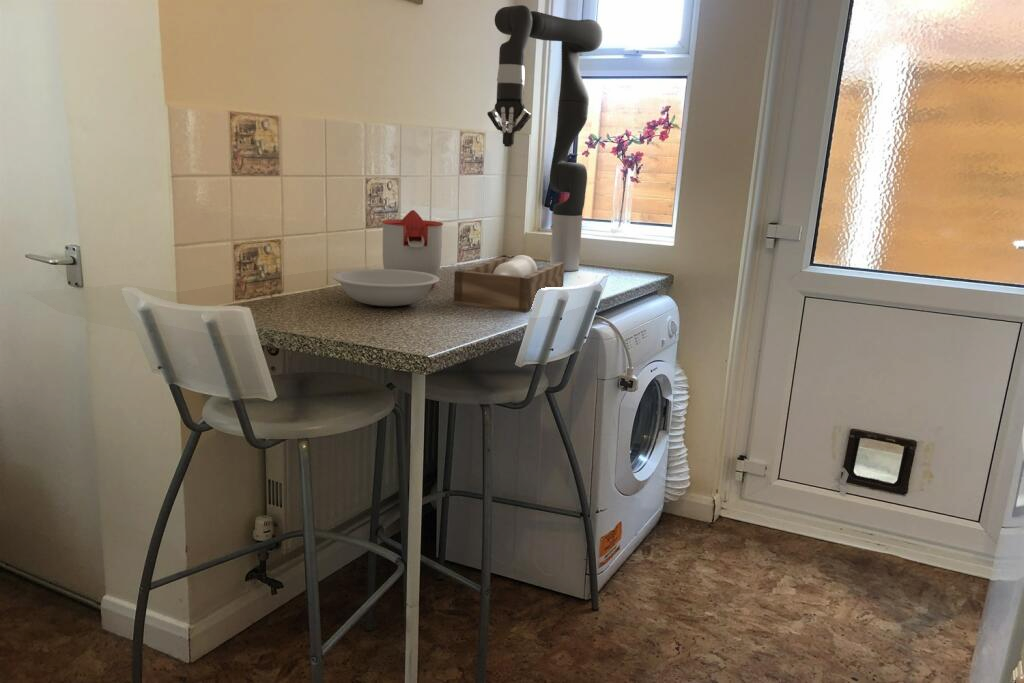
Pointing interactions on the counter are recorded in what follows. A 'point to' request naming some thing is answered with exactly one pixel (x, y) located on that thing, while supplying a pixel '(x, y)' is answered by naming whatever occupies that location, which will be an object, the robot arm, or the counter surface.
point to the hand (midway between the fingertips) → (507, 146)
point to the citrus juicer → (412, 244)
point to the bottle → (517, 266)
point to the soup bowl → (386, 285)
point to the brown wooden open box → (503, 286)
